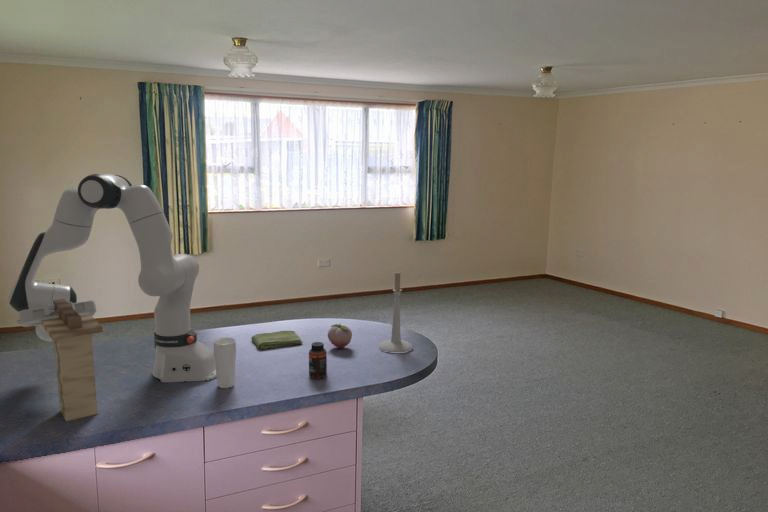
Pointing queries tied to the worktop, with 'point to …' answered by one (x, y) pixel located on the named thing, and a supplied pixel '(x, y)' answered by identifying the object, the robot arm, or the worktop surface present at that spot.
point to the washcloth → (276, 339)
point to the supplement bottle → (317, 361)
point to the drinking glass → (225, 361)
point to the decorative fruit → (339, 335)
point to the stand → (74, 365)
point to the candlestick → (396, 325)
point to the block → (67, 314)
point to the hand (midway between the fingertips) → (61, 305)
